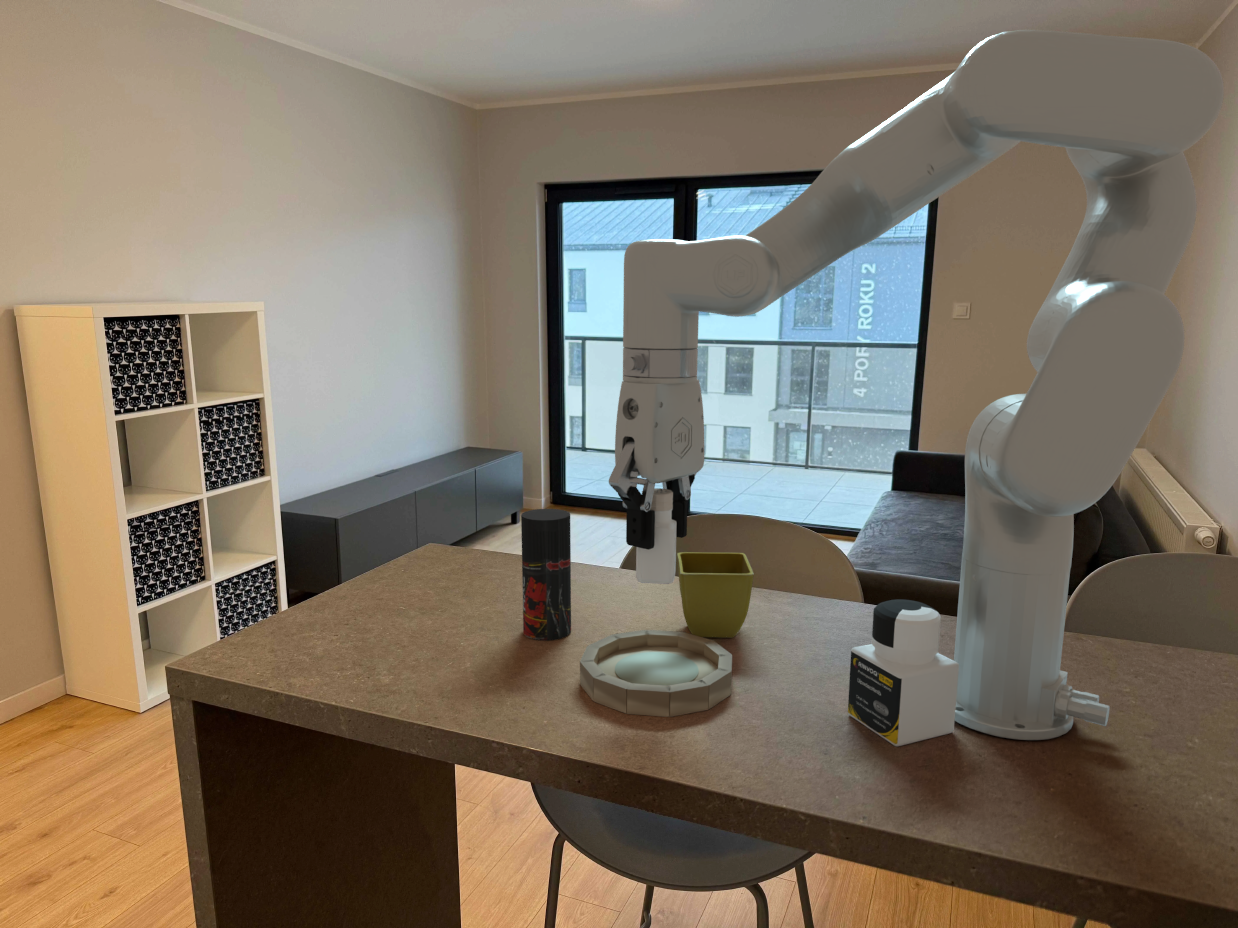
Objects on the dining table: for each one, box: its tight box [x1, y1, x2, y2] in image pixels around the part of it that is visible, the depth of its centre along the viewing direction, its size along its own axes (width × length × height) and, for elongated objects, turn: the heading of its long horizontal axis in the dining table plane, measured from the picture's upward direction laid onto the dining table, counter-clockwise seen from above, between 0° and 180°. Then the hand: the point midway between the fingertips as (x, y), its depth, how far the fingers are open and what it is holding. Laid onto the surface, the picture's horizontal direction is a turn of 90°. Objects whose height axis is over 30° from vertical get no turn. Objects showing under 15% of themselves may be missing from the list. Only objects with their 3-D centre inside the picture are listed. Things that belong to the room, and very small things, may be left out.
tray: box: [579, 629, 733, 718], centre depth 90 cm, size 16×16×3 cm
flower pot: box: [676, 551, 755, 639], centre depth 104 cm, size 9×9×9 cm
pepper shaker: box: [635, 487, 677, 585], centre depth 88 cm, size 4×4×10 cm
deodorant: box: [520, 508, 572, 642], centre depth 103 cm, size 6×6×15 cm
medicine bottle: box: [847, 598, 959, 747], centre depth 80 cm, size 7×7×12 cm
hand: (656, 539), depth 88 cm, fingers closed on pepper shaker, 5 cm apart
